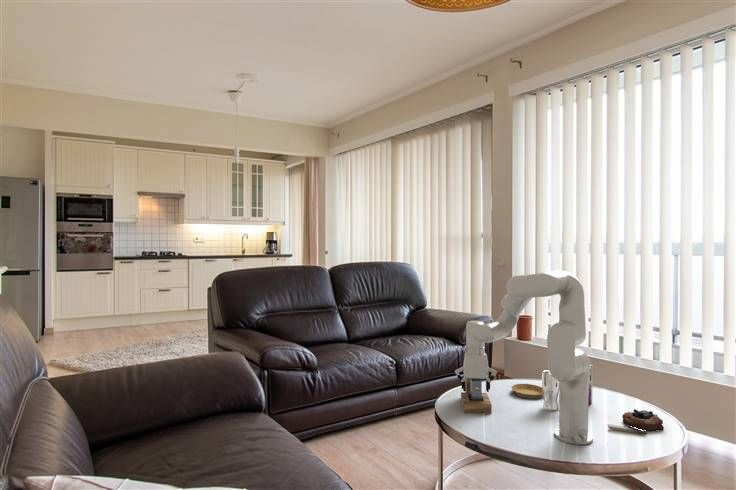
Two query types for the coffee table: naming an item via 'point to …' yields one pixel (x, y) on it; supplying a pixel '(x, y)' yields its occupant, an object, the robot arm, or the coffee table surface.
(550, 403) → the white vase
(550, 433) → the coffee table surface
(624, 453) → the coffee table surface
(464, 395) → the wooden square frame
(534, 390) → the plant saucer
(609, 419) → the coffee table surface
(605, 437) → the coffee table surface
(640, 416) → the pastry
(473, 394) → the grey box with cap
